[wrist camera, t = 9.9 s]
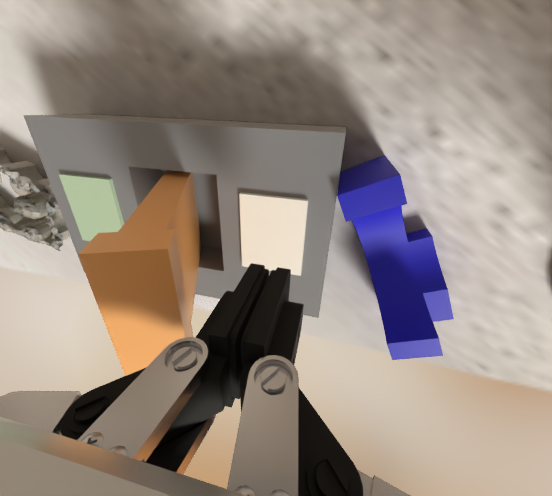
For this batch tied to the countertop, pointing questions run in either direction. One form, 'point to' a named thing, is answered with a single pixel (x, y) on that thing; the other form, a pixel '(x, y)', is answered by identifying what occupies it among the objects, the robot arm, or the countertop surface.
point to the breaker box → (204, 188)
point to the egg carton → (31, 205)
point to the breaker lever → (148, 272)
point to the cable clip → (396, 259)
